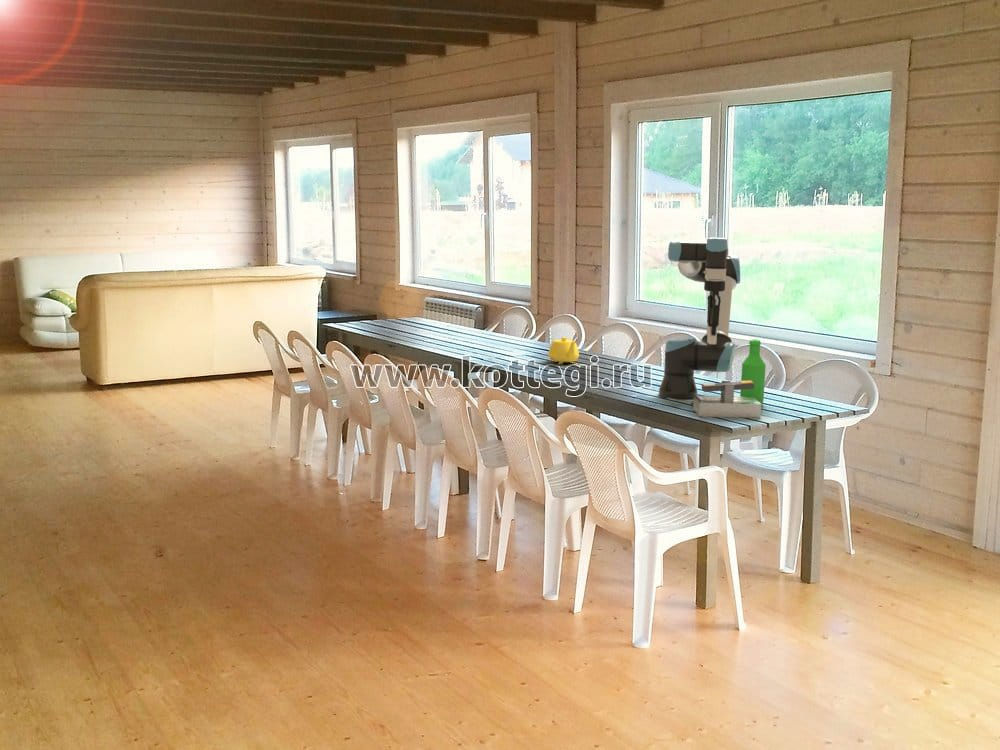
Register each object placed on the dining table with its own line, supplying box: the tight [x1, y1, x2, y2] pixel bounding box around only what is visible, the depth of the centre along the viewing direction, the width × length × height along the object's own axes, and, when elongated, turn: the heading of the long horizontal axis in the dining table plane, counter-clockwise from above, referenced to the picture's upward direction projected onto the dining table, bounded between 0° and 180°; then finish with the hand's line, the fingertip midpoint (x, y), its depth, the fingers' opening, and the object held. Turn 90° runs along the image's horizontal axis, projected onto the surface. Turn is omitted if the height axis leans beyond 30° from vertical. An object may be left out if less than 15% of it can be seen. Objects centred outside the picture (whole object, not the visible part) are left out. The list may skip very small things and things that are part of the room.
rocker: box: [701, 380, 754, 393], centre depth 369 cm, size 6×18×2 cm, turn 88°
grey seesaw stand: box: [692, 380, 762, 419], centre depth 370 cm, size 14×22×11 cm, turn 88°
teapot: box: [548, 336, 580, 364], centre depth 481 cm, size 13×20×12 cm
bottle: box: [739, 339, 767, 406], centre depth 386 cm, size 9×9×25 cm
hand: (711, 343), depth 376 cm, fingers open, 3 cm apart
